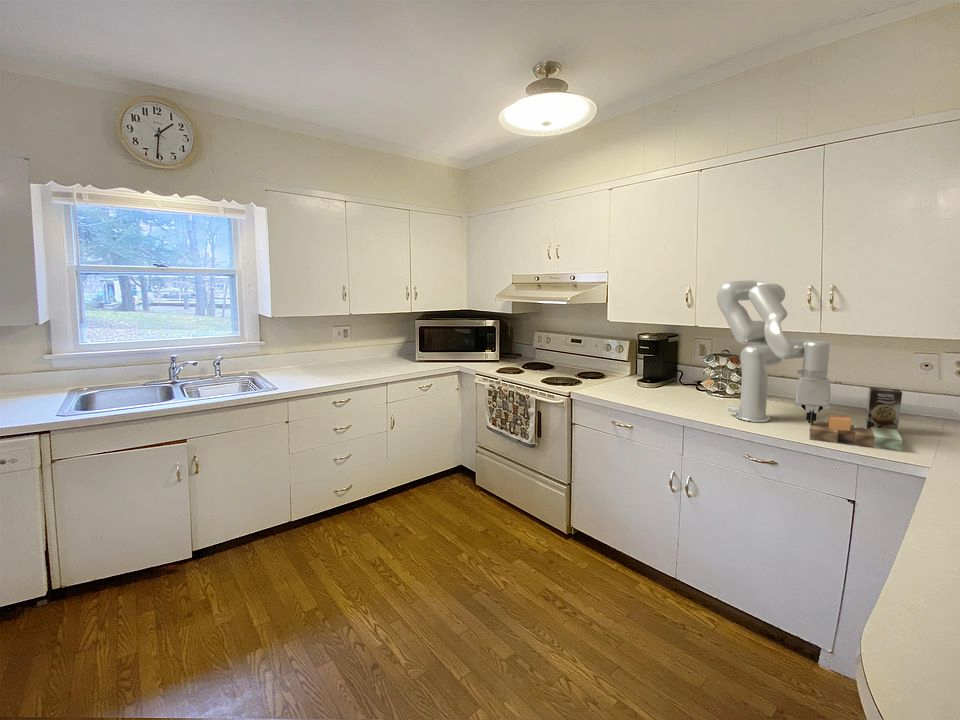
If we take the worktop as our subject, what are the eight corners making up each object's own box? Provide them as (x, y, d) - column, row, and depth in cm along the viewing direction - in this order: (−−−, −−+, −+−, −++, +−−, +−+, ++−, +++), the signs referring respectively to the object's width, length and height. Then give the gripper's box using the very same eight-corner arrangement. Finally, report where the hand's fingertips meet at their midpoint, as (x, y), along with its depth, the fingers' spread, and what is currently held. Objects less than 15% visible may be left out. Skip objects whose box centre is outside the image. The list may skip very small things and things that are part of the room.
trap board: (809, 439, 170) (810, 428, 169) (809, 430, 180) (810, 420, 180) (901, 451, 155) (902, 440, 155) (895, 440, 166) (896, 429, 165)
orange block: (829, 428, 169) (829, 417, 169) (828, 424, 173) (829, 414, 173) (850, 430, 166) (851, 419, 165) (849, 427, 170) (850, 416, 169)
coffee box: (866, 431, 177) (870, 389, 175) (864, 426, 182) (868, 386, 180) (897, 434, 172) (902, 392, 170) (894, 430, 177) (899, 388, 175)
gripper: (789, 374, 173) (786, 422, 176) (840, 377, 164) (836, 428, 167) (790, 371, 179) (787, 417, 182) (839, 374, 170) (835, 422, 173)
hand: (810, 422), depth 174 cm, fingers closed
